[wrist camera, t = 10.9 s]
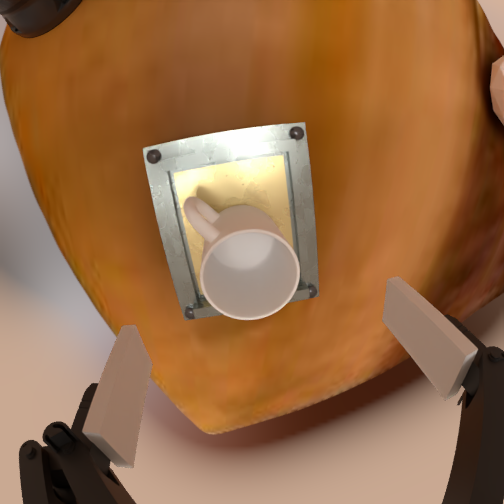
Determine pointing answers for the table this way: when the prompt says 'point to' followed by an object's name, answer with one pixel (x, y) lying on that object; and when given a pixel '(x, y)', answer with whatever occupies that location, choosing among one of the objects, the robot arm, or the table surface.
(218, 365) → the table surface
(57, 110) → the table surface
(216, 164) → the silver and gold block
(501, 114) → the geometric sphere
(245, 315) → the cup
